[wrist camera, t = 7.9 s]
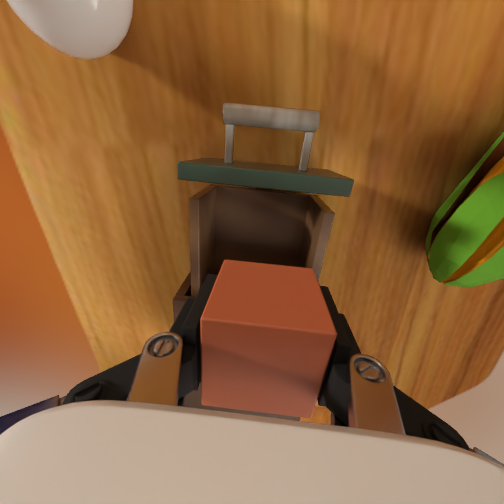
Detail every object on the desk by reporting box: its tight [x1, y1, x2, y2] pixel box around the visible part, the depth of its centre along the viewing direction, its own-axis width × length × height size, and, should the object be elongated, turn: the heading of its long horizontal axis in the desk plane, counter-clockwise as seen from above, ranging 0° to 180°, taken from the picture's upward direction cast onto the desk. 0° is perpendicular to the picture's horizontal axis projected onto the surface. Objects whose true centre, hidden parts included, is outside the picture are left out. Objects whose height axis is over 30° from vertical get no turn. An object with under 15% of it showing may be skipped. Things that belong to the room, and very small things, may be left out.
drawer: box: [177, 102, 354, 297], centre depth 22 cm, size 19×12×8 cm, turn 175°
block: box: [200, 260, 337, 418], centre depth 10 cm, size 4×4×4 cm
